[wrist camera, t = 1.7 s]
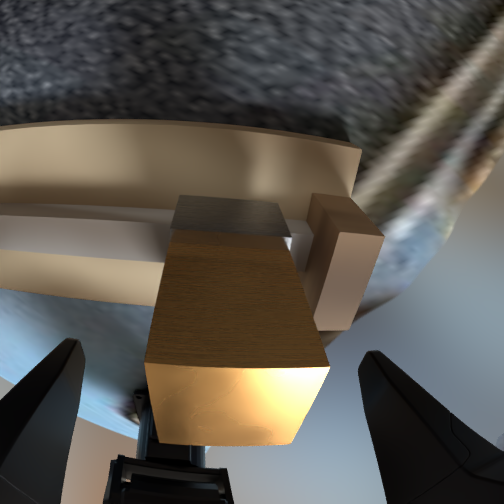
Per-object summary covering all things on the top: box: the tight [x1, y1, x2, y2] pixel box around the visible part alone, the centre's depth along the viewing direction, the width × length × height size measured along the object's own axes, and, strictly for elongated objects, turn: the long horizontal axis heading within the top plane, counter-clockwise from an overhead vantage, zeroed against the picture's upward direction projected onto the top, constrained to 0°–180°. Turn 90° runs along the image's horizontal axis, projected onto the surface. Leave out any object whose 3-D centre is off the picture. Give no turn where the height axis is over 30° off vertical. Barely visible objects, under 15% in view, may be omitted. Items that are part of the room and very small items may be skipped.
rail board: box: [0, 119, 385, 330], centre depth 14 cm, size 10×24×6 cm, turn 82°
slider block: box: [144, 195, 330, 446], centre depth 11 cm, size 5×4×8 cm
